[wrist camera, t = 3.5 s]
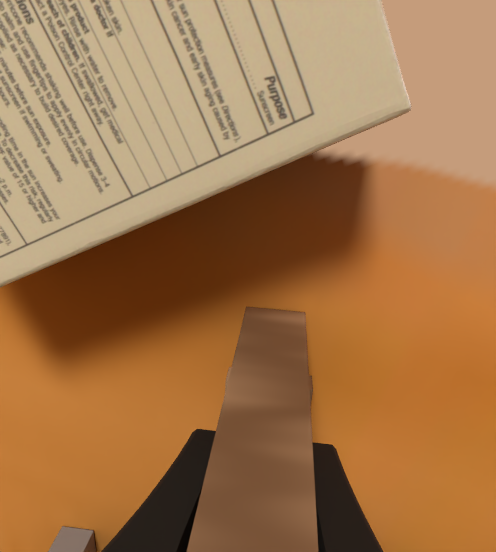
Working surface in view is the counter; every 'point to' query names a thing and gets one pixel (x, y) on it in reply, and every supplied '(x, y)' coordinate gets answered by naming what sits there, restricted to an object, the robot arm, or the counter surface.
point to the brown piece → (262, 445)
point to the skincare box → (170, 107)
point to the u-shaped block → (74, 540)
